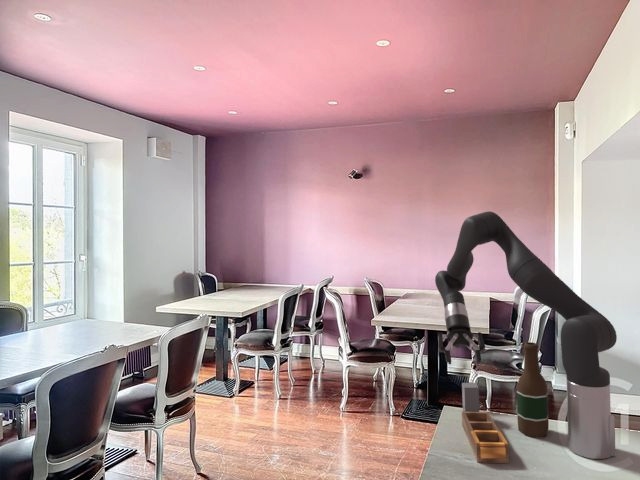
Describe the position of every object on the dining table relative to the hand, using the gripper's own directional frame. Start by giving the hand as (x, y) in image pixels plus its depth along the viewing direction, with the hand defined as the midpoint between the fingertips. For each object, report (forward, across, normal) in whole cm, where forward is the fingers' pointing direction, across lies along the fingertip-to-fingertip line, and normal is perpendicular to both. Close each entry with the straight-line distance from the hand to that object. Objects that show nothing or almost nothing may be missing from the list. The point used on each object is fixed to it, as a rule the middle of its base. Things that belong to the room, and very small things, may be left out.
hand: (464, 363), depth 144 cm
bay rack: (+27, 0, -9) cm, 29 cm away
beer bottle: (+22, +14, -4) cm, 27 cm away
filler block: (+16, 0, +2) cm, 16 cm away
